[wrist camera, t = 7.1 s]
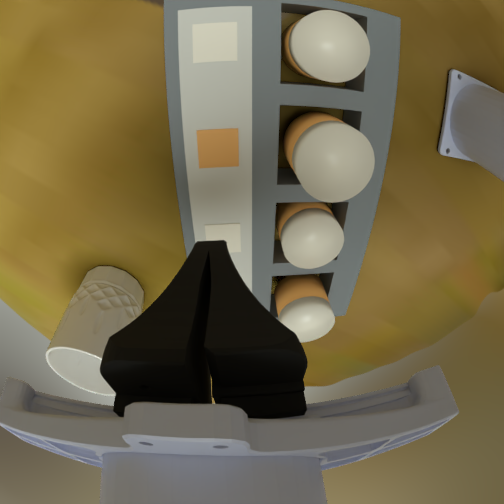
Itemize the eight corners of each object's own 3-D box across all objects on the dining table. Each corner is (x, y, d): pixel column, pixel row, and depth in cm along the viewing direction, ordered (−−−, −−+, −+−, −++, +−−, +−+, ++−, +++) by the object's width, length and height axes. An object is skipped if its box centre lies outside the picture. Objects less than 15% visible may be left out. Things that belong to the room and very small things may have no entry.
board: (378, 20, 13) (402, 17, 11) (336, 293, 29) (345, 316, 27) (173, 7, 12) (163, -3, 10) (201, 302, 28) (200, 327, 26)
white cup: (68, 284, 26) (35, 362, 18) (104, 245, 23) (64, 335, 15) (122, 324, 30) (105, 401, 22) (165, 295, 27) (152, 385, 19)
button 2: (351, 114, 16) (380, 129, 13) (343, 175, 19) (367, 202, 15) (284, 109, 16) (299, 122, 12) (281, 174, 18) (294, 202, 15)
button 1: (344, 24, 14) (370, 18, 10) (342, 81, 16) (367, 87, 13) (280, 16, 13) (293, 5, 10) (279, 76, 16) (292, 78, 13)
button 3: (331, 190, 21) (349, 216, 18) (323, 236, 24) (338, 267, 21) (275, 190, 21) (285, 217, 18) (273, 238, 24) (280, 270, 21)
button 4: (326, 270, 24) (340, 305, 21) (318, 305, 26) (329, 339, 23) (275, 273, 23) (283, 310, 20) (272, 309, 26) (278, 344, 23)
